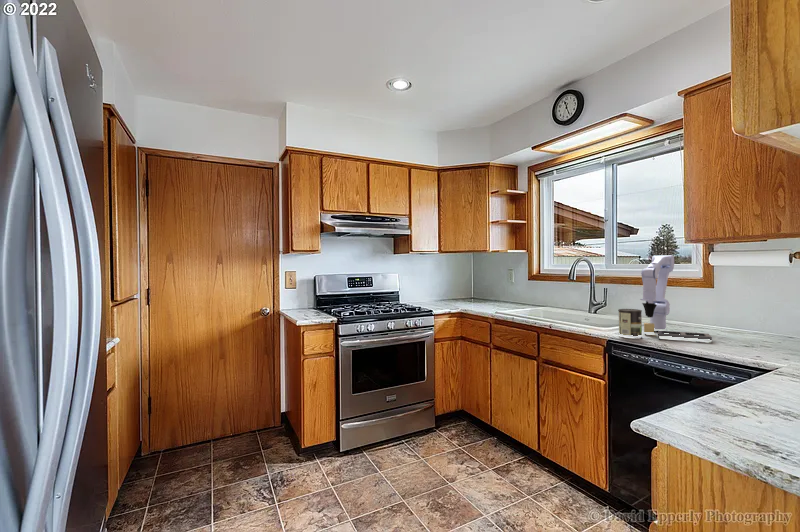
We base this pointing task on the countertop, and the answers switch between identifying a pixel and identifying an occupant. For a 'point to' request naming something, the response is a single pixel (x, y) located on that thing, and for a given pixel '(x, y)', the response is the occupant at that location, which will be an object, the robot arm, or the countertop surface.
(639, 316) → the coffee can
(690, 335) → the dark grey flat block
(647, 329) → the tan rectangular block
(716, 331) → the countertop surface
